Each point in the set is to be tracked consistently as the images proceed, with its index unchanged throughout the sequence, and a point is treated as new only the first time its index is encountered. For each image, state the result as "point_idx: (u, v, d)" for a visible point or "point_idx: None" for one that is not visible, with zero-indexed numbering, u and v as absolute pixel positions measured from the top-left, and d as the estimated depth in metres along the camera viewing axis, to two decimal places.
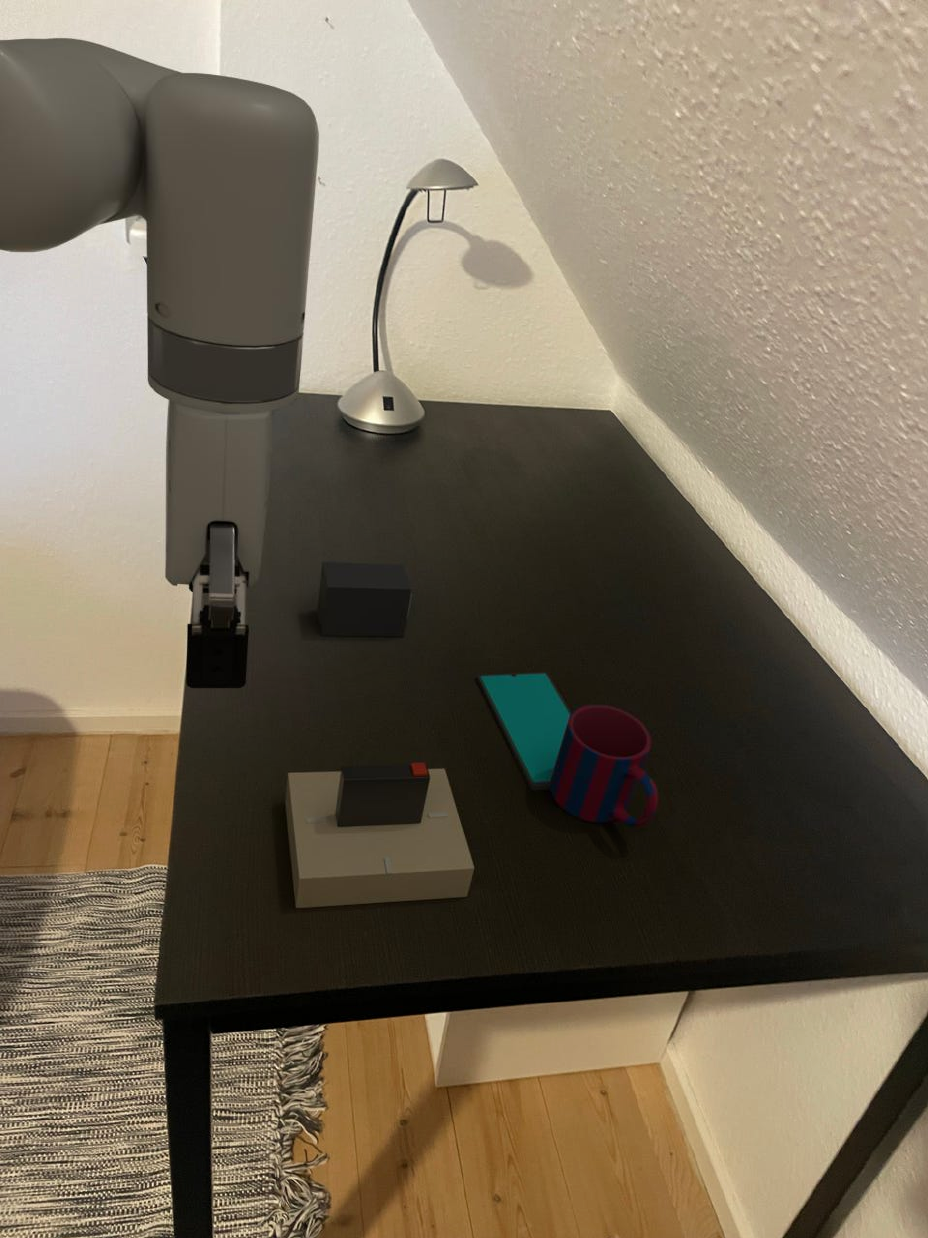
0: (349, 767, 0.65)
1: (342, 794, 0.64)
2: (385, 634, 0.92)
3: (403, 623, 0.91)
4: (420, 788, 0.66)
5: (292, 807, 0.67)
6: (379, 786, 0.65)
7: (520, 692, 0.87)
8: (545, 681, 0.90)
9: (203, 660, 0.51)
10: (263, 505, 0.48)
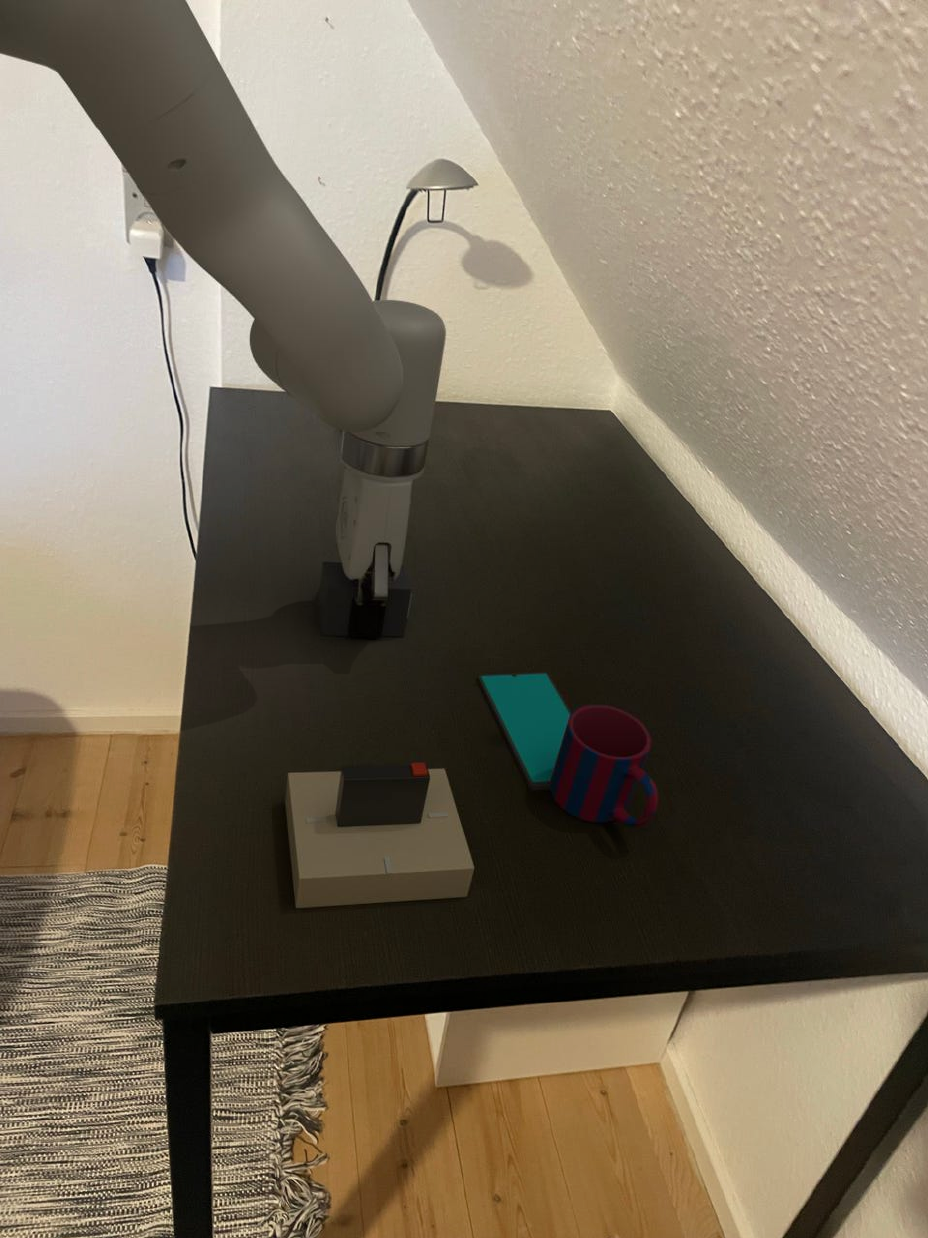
0: (349, 767, 0.65)
1: (342, 794, 0.64)
2: (385, 634, 0.92)
3: (403, 623, 0.91)
4: (420, 788, 0.66)
5: (292, 807, 0.67)
6: (379, 786, 0.65)
7: (520, 692, 0.87)
8: (545, 681, 0.90)
9: (361, 620, 0.88)
10: (405, 533, 0.83)
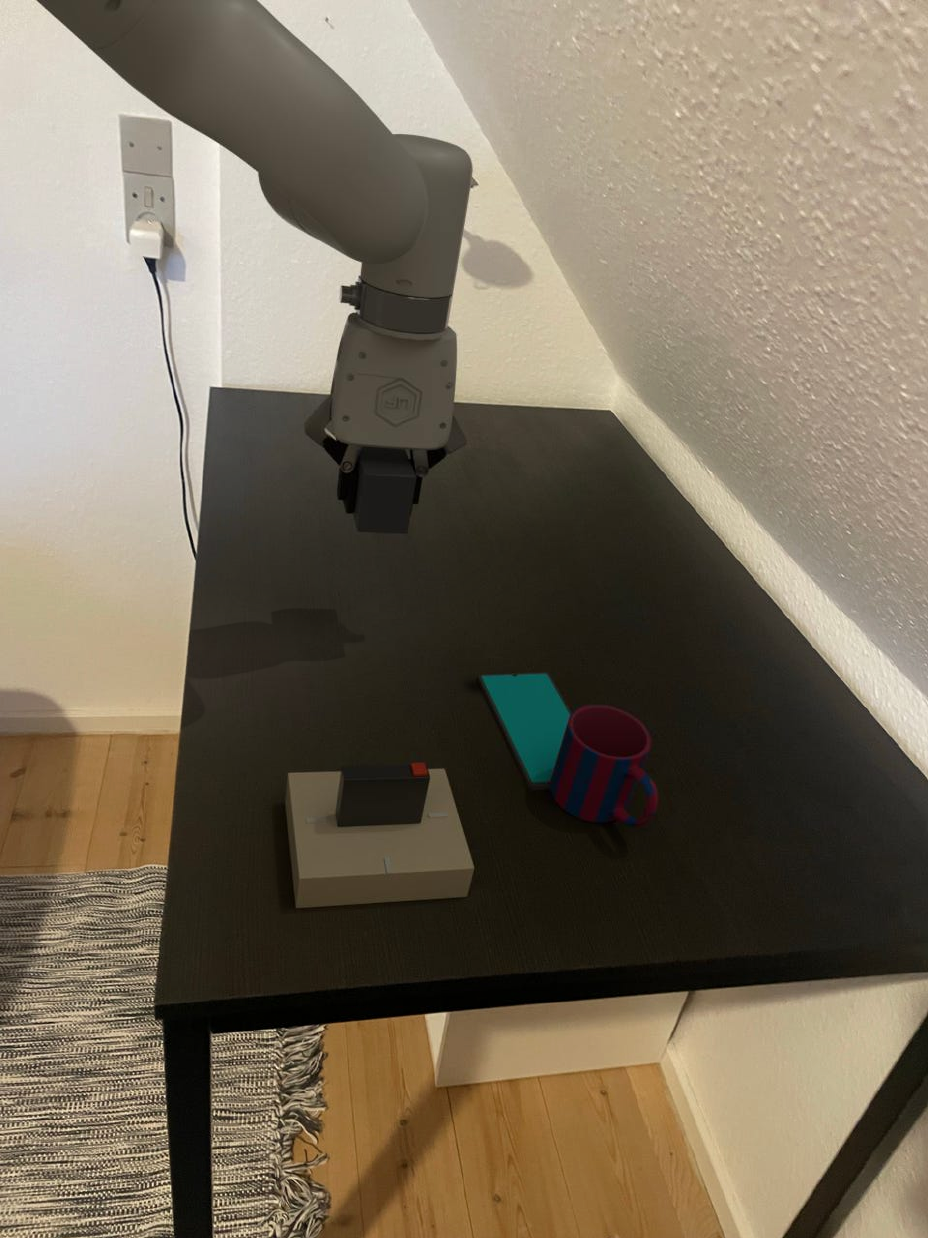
0: (349, 767, 0.65)
1: (342, 794, 0.64)
2: None
3: None
4: (420, 788, 0.66)
5: (292, 807, 0.67)
6: (379, 786, 0.65)
7: (520, 692, 0.87)
8: (546, 681, 0.90)
9: (420, 489, 0.85)
10: None
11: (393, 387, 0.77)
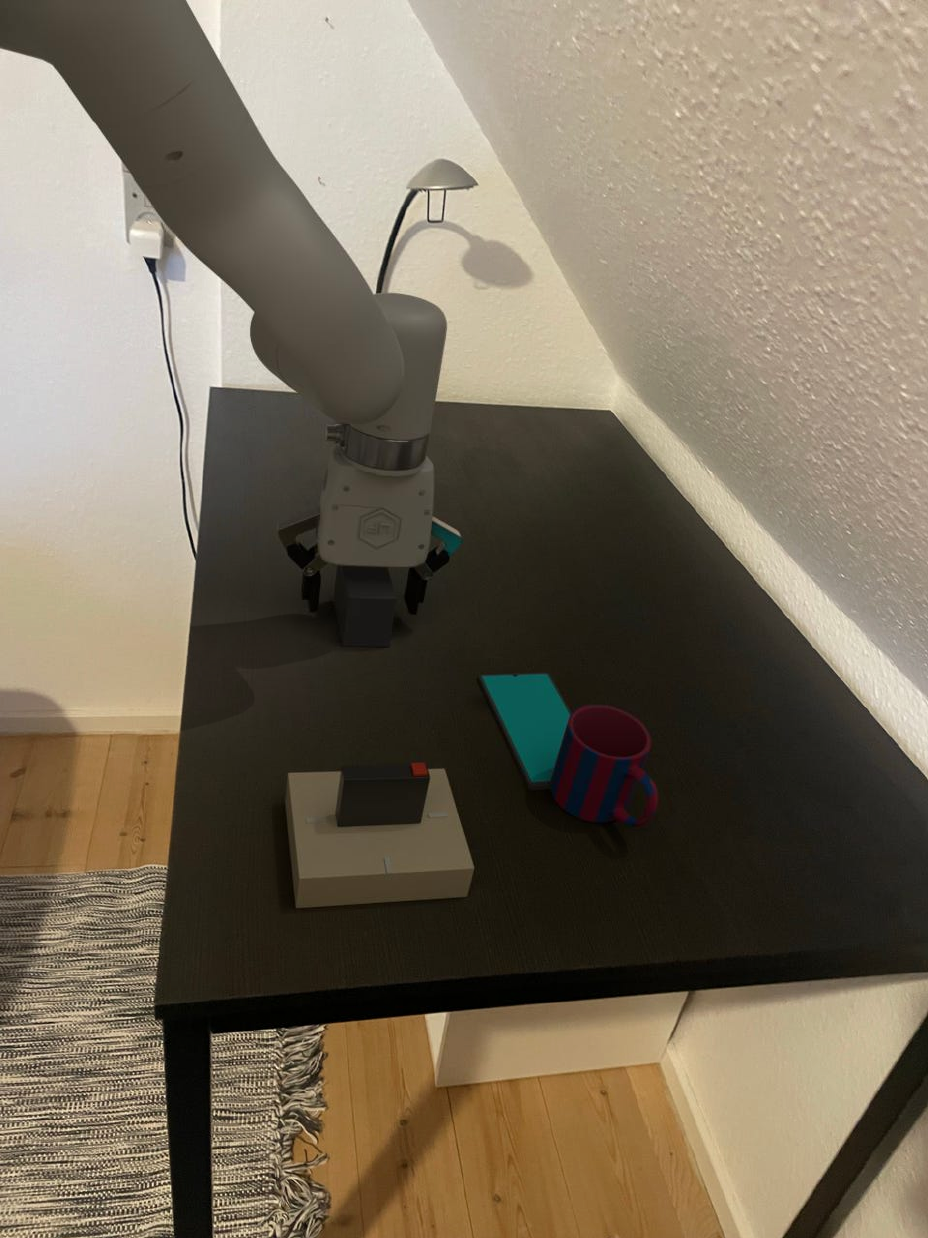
0: (349, 767, 0.65)
1: (342, 794, 0.64)
2: None
3: None
4: (420, 788, 0.66)
5: (292, 807, 0.67)
6: (379, 786, 0.65)
7: (520, 692, 0.87)
8: (546, 681, 0.90)
9: (425, 590, 0.92)
10: None
11: (375, 515, 0.83)
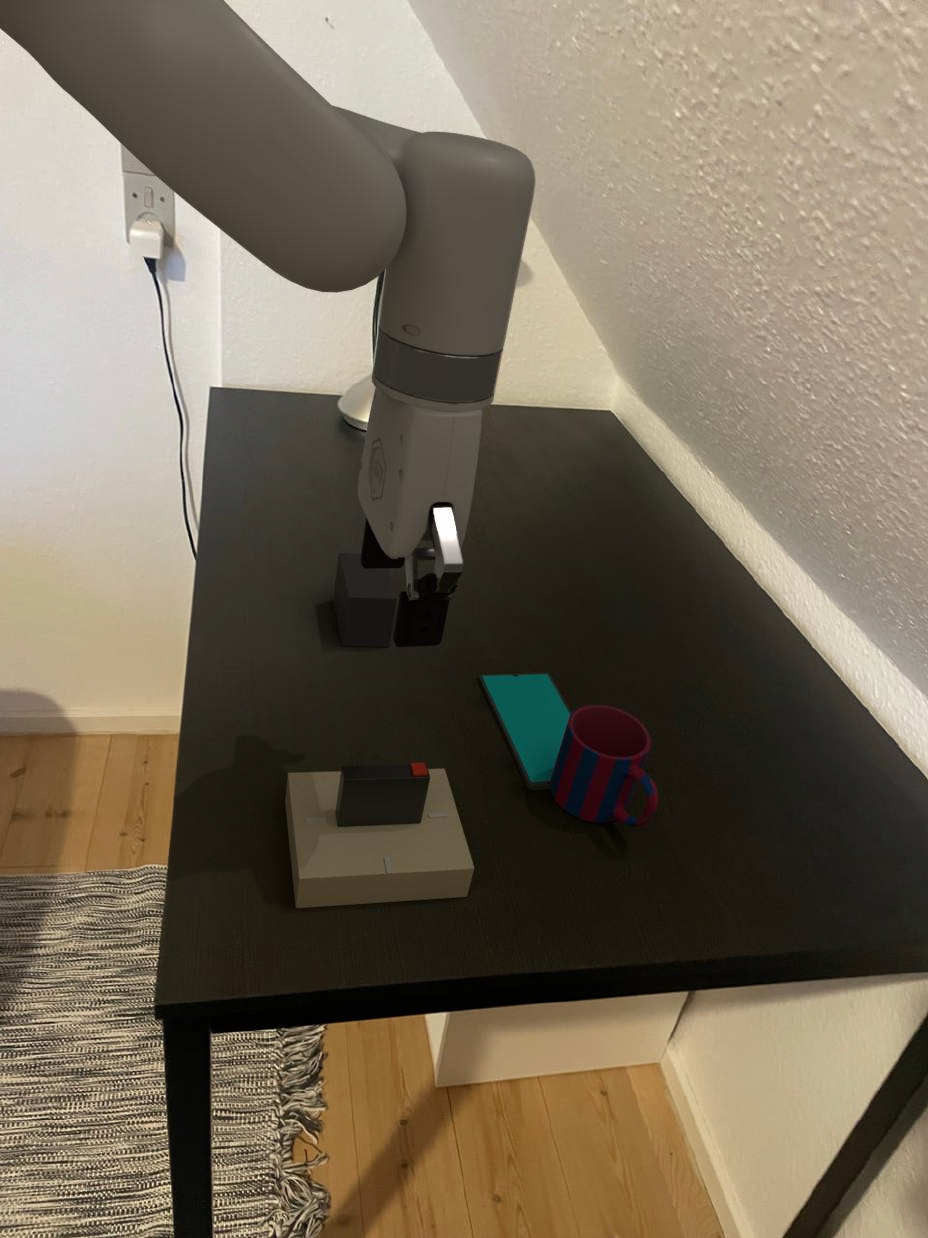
0: (349, 767, 0.65)
1: (342, 794, 0.64)
2: None
3: None
4: (420, 788, 0.66)
5: (292, 807, 0.67)
6: (379, 786, 0.65)
7: (521, 692, 0.87)
8: (546, 681, 0.90)
9: (415, 621, 0.60)
10: (473, 488, 0.57)
11: (378, 448, 0.59)
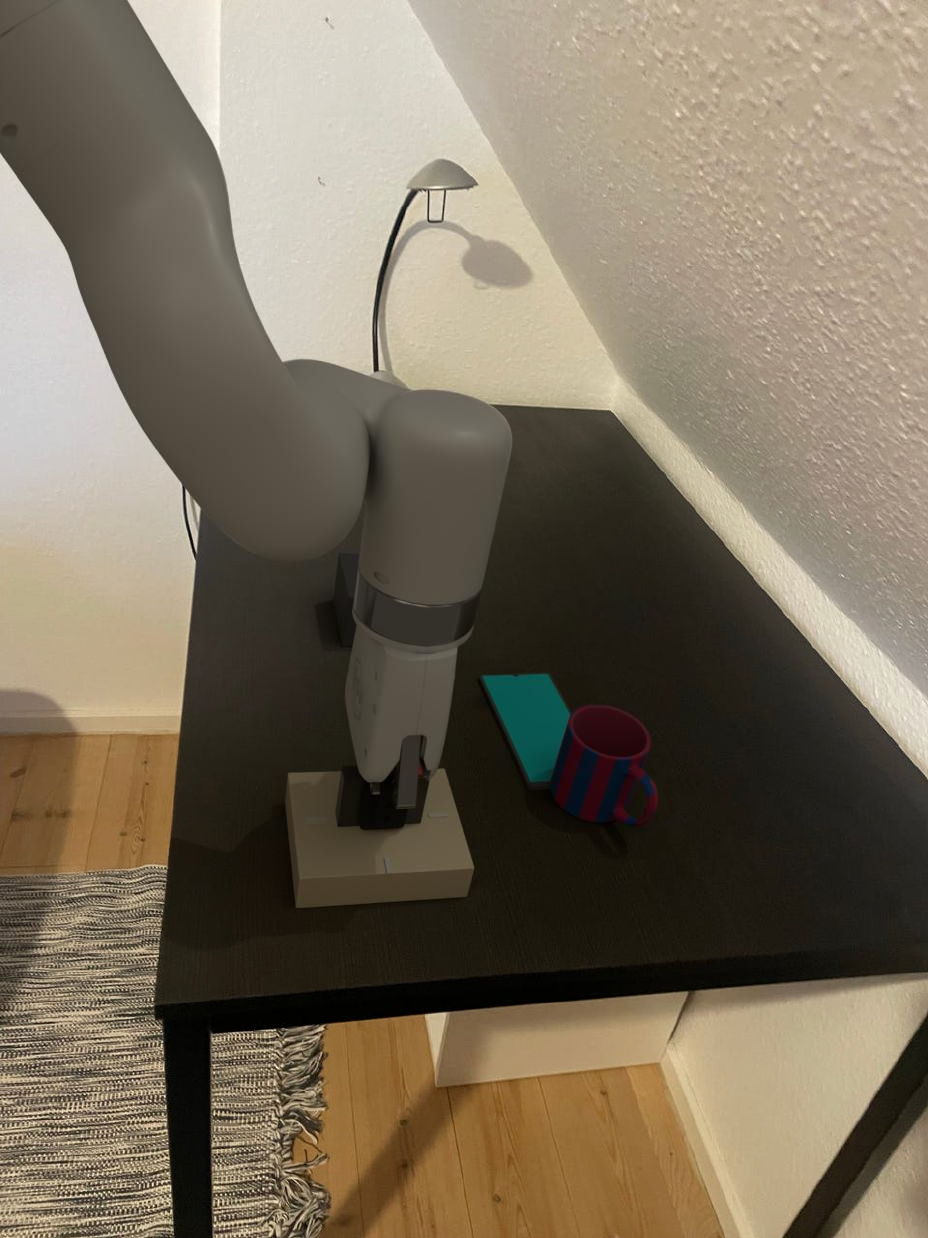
0: (349, 767, 0.65)
1: (342, 794, 0.64)
2: None
3: None
4: (420, 788, 0.66)
5: (292, 807, 0.67)
6: None
7: (521, 692, 0.87)
8: (547, 681, 0.90)
9: (377, 812, 0.64)
10: (447, 720, 0.57)
11: (359, 667, 0.60)
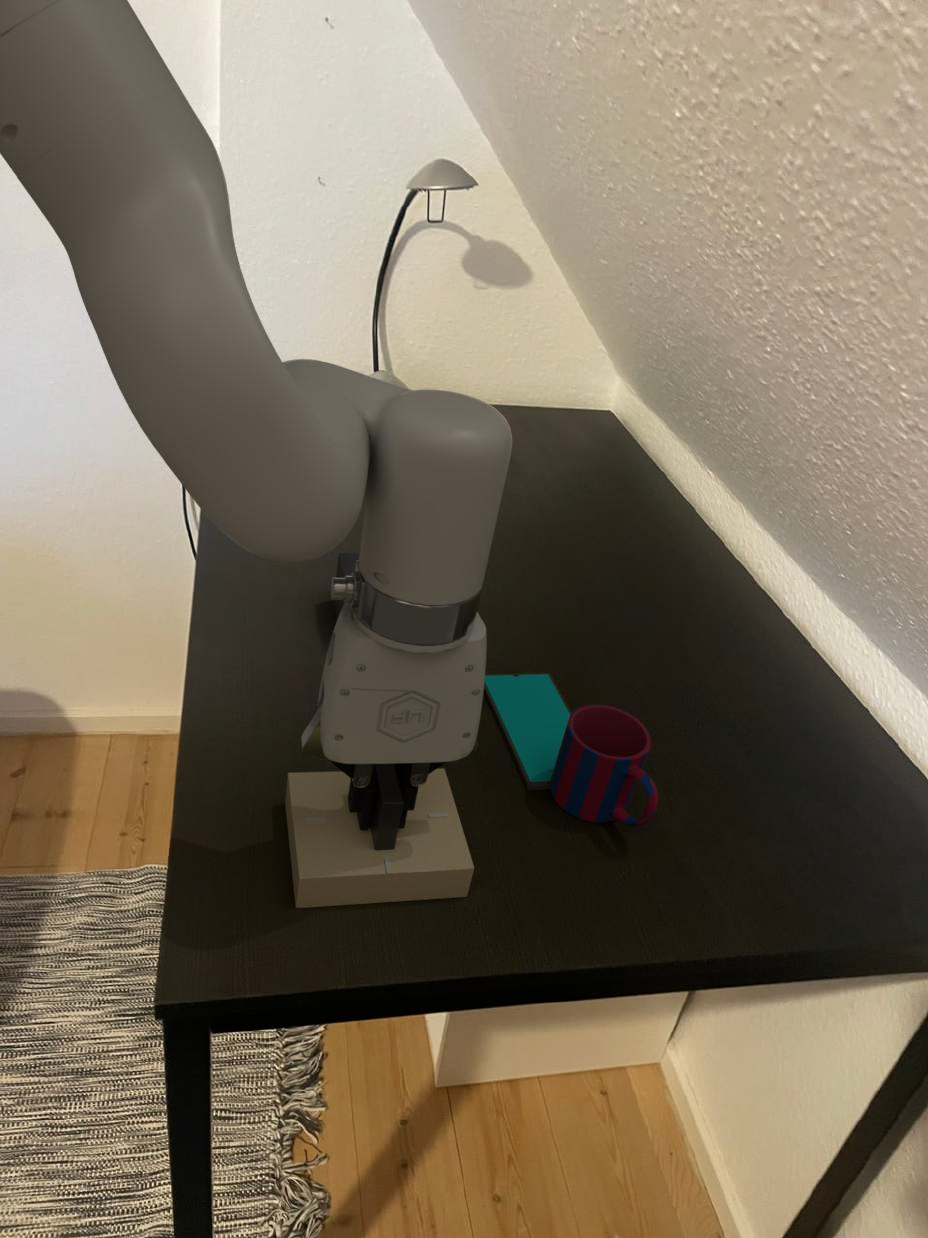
0: (384, 797, 0.63)
1: (399, 817, 0.64)
2: None
3: None
4: None
5: (292, 807, 0.67)
6: None
7: (521, 692, 0.87)
8: (547, 681, 0.90)
9: (416, 796, 0.66)
10: None
11: (402, 700, 0.58)
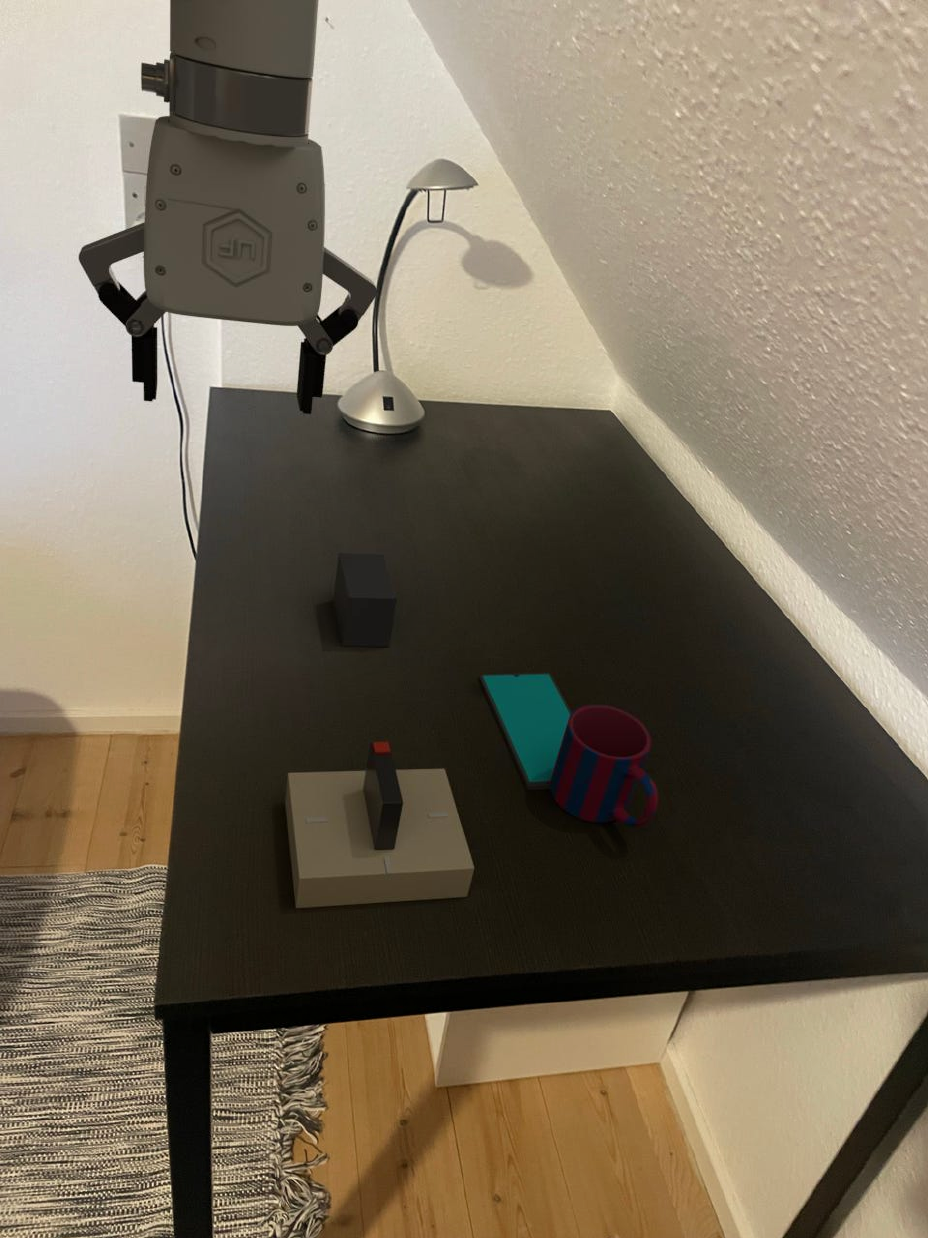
0: (384, 797, 0.63)
1: (399, 817, 0.64)
2: None
3: None
4: None
5: (292, 807, 0.67)
6: None
7: (521, 692, 0.87)
8: (547, 681, 0.90)
9: None
10: None
11: (228, 223, 0.53)
